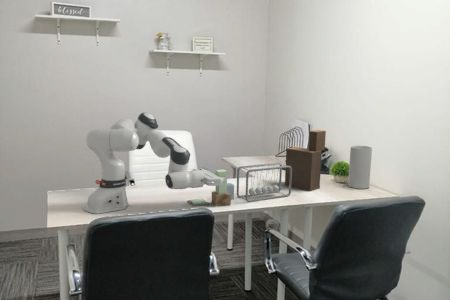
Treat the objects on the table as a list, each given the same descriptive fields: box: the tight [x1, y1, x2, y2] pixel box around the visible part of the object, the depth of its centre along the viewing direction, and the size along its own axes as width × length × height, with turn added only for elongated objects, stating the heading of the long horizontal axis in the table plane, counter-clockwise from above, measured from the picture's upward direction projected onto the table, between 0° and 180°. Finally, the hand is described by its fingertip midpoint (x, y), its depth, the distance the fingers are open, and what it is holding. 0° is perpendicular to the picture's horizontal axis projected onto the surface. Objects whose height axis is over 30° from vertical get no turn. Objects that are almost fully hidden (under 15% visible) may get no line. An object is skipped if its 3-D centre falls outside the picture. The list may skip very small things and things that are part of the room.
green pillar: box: [215, 168, 228, 195], centre depth 217 cm, size 4×4×12 cm
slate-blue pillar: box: [227, 182, 235, 201], centre depth 228 cm, size 4×4×8 cm
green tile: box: [186, 198, 210, 207], centre depth 219 cm, size 9×9×1 cm
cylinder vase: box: [347, 145, 373, 190], centre depth 258 cm, size 12×12×25 cm
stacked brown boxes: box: [284, 129, 327, 192], centre depth 256 cm, size 19×14×35 cm
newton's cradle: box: [236, 162, 292, 203], centre depth 232 cm, size 30×10×18 cm, turn 119°
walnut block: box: [211, 190, 232, 207], centre depth 219 cm, size 8×8×6 cm
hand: (222, 176), depth 217 cm, fingers open, 7 cm apart
